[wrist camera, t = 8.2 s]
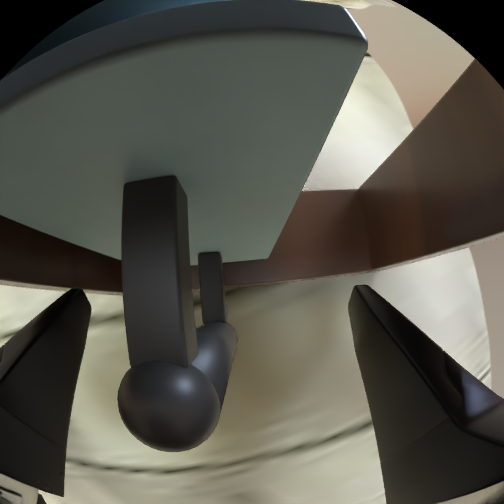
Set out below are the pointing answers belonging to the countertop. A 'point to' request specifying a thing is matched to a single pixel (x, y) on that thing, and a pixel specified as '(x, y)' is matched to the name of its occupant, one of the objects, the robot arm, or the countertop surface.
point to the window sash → (176, 172)
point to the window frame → (311, 202)
